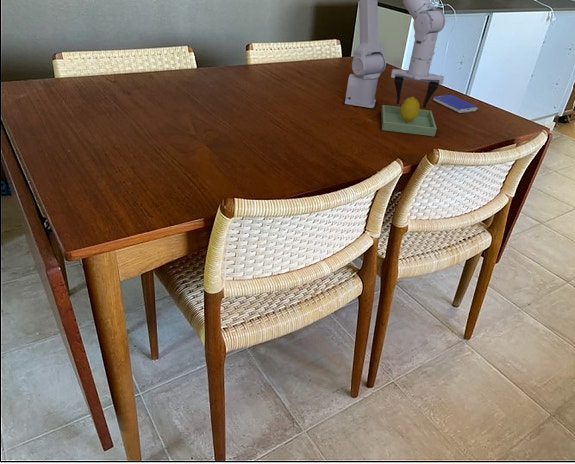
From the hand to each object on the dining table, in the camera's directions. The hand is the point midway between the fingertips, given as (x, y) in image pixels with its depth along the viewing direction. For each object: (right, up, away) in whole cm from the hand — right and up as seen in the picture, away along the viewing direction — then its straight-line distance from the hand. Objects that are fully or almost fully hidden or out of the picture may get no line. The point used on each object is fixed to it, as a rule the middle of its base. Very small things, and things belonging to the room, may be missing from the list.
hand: (410, 104), depth 138 cm
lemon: (0, -5, +3) cm, 6 cm away
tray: (0, -5, +3) cm, 6 cm away
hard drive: (+20, +5, +21) cm, 29 cm away
